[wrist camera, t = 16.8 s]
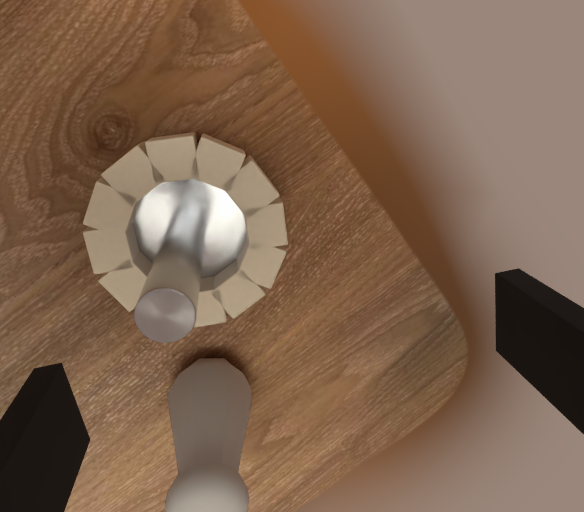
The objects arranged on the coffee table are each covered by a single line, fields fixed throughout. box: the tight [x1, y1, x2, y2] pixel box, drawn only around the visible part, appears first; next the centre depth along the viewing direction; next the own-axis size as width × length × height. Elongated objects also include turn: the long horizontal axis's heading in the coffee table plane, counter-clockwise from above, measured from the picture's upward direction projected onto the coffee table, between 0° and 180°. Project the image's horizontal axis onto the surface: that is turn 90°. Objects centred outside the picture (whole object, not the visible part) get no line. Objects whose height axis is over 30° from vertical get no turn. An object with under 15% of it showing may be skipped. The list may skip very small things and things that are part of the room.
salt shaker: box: [165, 358, 252, 512], centre depth 30 cm, size 6×6×13 cm
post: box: [133, 178, 247, 343], centre depth 26 cm, size 8×8×14 cm
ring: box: [83, 132, 288, 328], centre depth 30 cm, size 12×12×2 cm
